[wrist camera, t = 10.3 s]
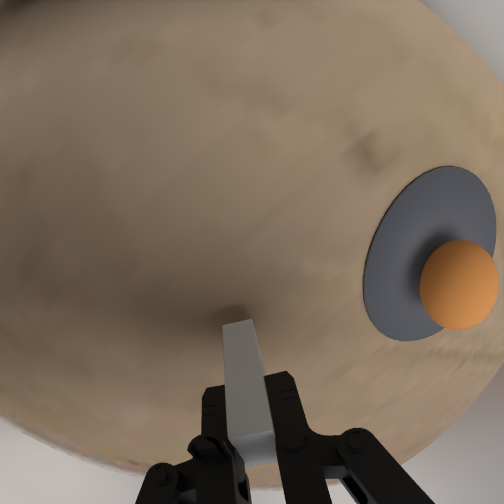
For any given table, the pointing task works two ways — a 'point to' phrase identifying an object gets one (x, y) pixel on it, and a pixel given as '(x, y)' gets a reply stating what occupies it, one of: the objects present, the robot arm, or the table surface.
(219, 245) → the table surface
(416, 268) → the disc
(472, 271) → the ball
